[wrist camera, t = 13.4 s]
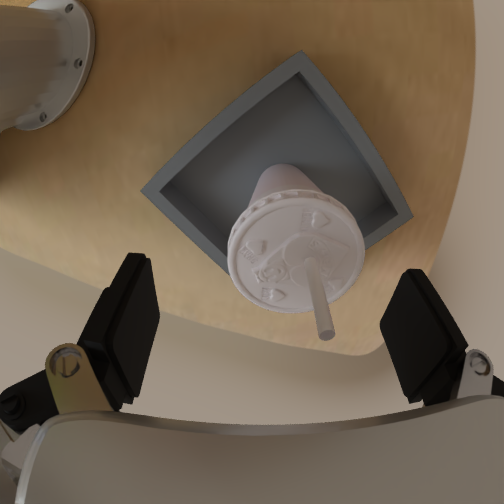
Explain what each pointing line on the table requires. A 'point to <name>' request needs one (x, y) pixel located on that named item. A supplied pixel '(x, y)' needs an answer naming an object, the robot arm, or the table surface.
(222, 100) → the table surface
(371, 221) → the tray
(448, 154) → the table surface
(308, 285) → the smoothie
